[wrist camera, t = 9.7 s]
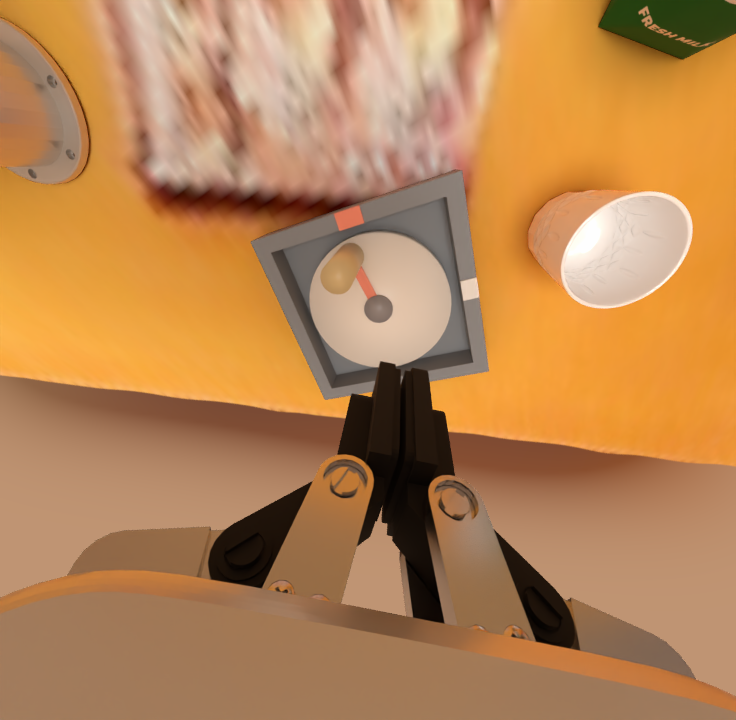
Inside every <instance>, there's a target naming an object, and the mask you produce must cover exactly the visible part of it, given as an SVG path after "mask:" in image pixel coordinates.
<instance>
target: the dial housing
mask: <svg viewBox="0 0 736 720" xmlns="http://www.w3.org/2000/svg"><path fill="white" fill-rule="evenodd" d="M369 230H392V231H397V232H401V233H404V234H406V235H409V236H411V237H413V238H415V239H417V240H418V241H420V242H421V243H423V244H424V245H425V246H426V247H428V248H429V249H430V250H431V251H432V253H433V254H434V255H435V256H436V257H437V259H438V260H439V262H440V263H441V265H442V267H443V269H444V271H445V274H446V277H447V280H448V283H449V286H450V292H451V313H450V317H449V321H448V324H447V327H446V329H445V331H444V333H443V334H442V336H441V338H440V339H439V340H438V342H437V343H436V344H435V345H434V346H433V347H432V348H431V349H430V350H429V351H428V352H427V353H425V354H424V355H423V356H421V357H419V358H418V359H416V360H414V361H411V362H409V363H406V364H403V365H400V366H396V368H397V369H401V382H402V379H403V375H404V372H405V370H407V371H411V368H412V367H413V368H418V369H423V370H427V371H428V373H429V382H430V381H436V380H442V379H447V378H453V377H459V376H465V375H470V374H476V373H482V372H487V371H489V367H488V360H487V352H486V345H485V337H484V330H483V323H482V315H481V308H480V300H479V291H478V283H477V277H476V270H475V263H474V255H473V248H472V240H471V233H470V226H469V218H468V211H467V203H466V196H465V188H464V181H463V173H462V170H454V171H451V172H448V173H445V174H442V175H439V176H436V177H433V178H430V179H427V180H424V181H421V182H418V183H415V184H413V185H410V186H407V187H404V188H401V189H398V190H395V191H392V192H389V193H386V194H383V195H380V196H377V197H374V198H371V199H368V200H365V201H362V202H359V203H357V204H354V205H351V206H348V207H345V208H342V209H339V210H336V211H333V212H330V213H327V214H324V215H321V216H318V217H315V218H312V219H309V220H306V221H304V222H301V223H298V224H295V225H292V226H289V227H286V228H283V229H280V230H277V231H274V232H271V233H268V234H266V235H264V236H261V237H259V238H257V239H255V240H253V241H251V244H252V246H253V248H254V250H255V252H256V255H257V257H258V259H259V261H260V263H261V265H262V267H263V269H264V272H265V274H266V276H267V278H268V280H269V282H270V284H271V286H272V289H273V291H274V293H275V295H276V297H277V299H278V301H279V303H280V305H281V308H282V310H283V312H284V314H285V316H286V318H287V320H288V322H289V325H290V327H291V329H292V331H293V333H294V335H295V337H296V339H297V342H298V344H299V346H300V348H301V350H302V352H303V354H304V356H305V359H306V361H307V363H308V365H309V367H310V369H311V371H312V373H313V375H314V378H315V380H316V382H317V384H318V386H319V388H320V390H321V392H322V395H323V397H324V399H325V400H327V399H333V398H339V397H345V396H350V395H351V394H352V393H353V394H362V393H367V392H373V389H374V385H375V381H376V376H377V372H378V368H379V367H370V366H365V365H361V364H358V363H355V362H353V361H351V360H349V359H347V358H345V357H343V356H342V355H340V354H339V353H337V352H336V351H335V350H334V349H332V348H331V347H330V346H329V345H328V344H327V343H326V342H325V340H324V339H323V338H322V336H321V335H320V333H319V331H318V330H317V328H316V326H315V323H314V321H313V318H312V314H311V310H310V287H311V283H312V279H313V276H314V274H315V272H316V269H317V268H318V266H319V265H320V263H321V261H322V260H323V259H324V258H325V257H326V255H327V254H328V253H329V252H330V251H331V250H332V249H333V248H334V247H335V246H336V245H338V244H339V243H340V242H342V241H343V240H345V239H346V238H348V237H350V236H352V235H354V234H357V233H360V232H364V231H369Z"/></svg>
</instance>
